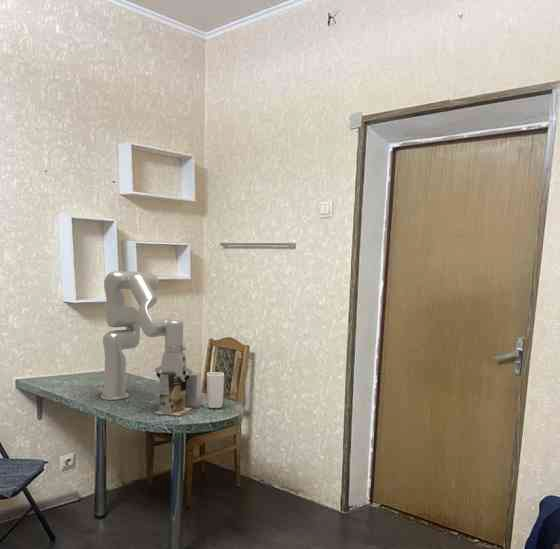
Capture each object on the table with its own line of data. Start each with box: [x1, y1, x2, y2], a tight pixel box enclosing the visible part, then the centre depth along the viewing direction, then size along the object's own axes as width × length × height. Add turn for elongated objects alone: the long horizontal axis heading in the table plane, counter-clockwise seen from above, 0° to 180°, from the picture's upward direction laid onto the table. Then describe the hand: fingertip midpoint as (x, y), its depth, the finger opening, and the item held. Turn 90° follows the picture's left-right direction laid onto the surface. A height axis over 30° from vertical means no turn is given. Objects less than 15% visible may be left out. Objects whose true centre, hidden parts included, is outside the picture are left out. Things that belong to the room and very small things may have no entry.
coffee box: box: [158, 372, 185, 413], centre depth 206 cm, size 9×6×16 cm
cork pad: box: [153, 408, 192, 417], centre depth 206 cm, size 12×11×1 cm
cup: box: [206, 371, 225, 409], centre depth 214 cm, size 7×7×15 cm
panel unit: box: [185, 372, 204, 410], centre depth 215 cm, size 12×6×14 cm, turn 75°
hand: (173, 389), depth 206 cm, fingers open, 9 cm apart
